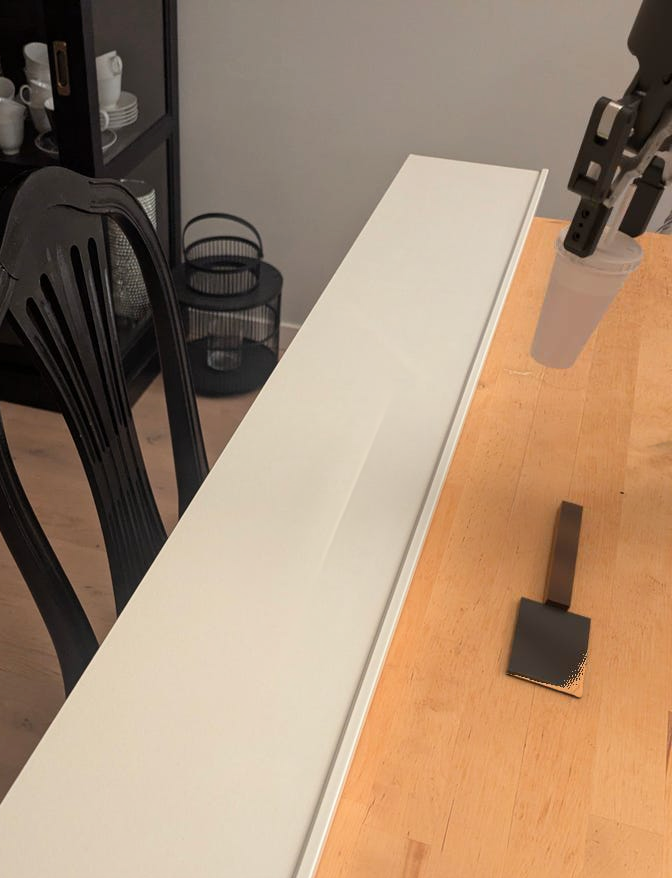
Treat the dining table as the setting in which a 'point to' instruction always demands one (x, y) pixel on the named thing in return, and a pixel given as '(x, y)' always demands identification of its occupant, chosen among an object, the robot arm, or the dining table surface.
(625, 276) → the smoothie
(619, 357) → the dining table surface
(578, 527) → the spatula
